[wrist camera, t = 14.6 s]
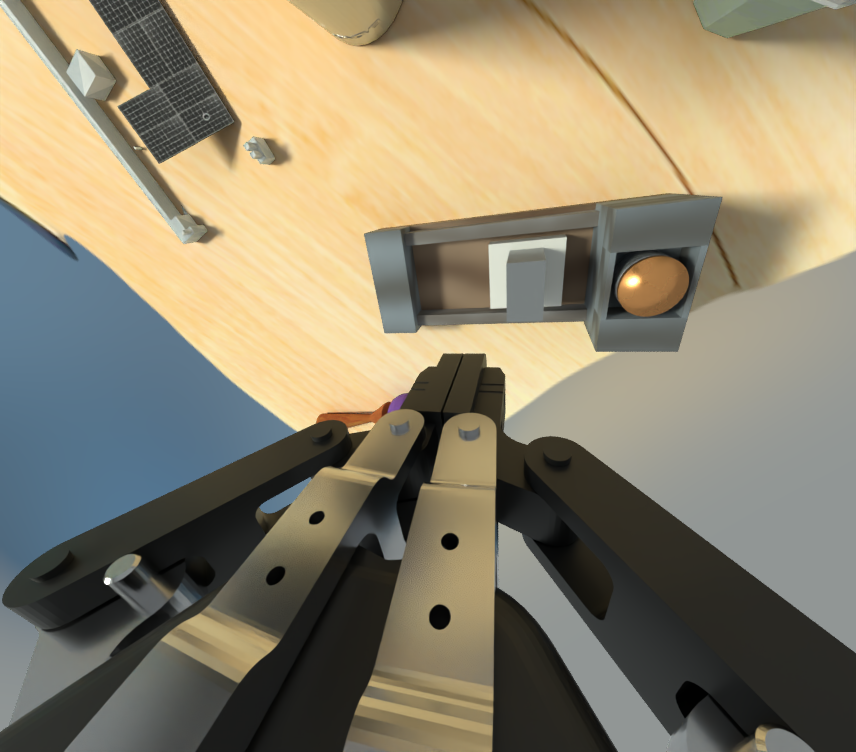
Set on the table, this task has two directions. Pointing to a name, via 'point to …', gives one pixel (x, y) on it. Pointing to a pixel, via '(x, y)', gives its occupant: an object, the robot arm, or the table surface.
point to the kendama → (365, 418)
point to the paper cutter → (151, 110)
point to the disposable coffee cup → (755, 13)
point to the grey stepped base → (583, 272)
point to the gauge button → (649, 282)
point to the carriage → (527, 275)
